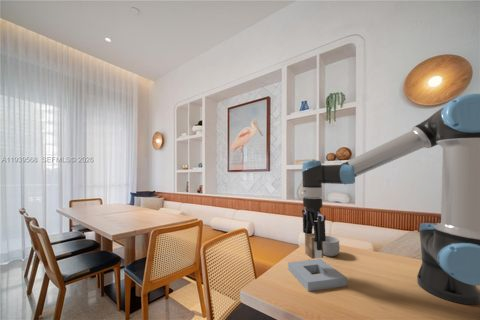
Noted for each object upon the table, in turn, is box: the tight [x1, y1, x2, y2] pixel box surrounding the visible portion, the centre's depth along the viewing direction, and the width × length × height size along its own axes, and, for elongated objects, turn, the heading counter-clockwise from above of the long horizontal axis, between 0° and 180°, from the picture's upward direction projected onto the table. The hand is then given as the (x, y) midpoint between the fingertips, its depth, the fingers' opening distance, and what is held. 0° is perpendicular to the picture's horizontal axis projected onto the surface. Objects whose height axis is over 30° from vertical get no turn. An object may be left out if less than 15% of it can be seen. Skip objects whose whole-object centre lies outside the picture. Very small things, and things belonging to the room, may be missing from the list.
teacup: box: [323, 235, 341, 257], centre depth 101 cm, size 14×11×8 cm
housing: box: [287, 258, 348, 292], centre depth 78 cm, size 16×16×3 cm
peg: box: [304, 232, 324, 260], centre depth 79 cm, size 5×5×8 cm
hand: (314, 254), depth 78 cm, fingers closed on peg, 5 cm apart
